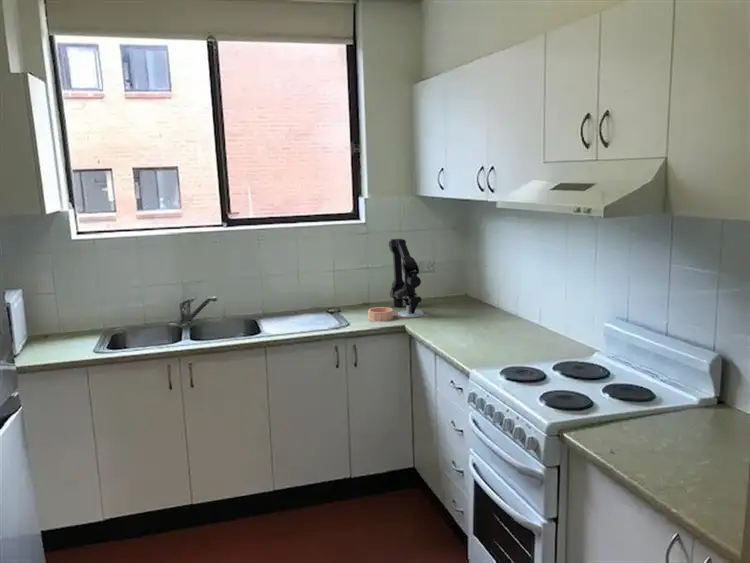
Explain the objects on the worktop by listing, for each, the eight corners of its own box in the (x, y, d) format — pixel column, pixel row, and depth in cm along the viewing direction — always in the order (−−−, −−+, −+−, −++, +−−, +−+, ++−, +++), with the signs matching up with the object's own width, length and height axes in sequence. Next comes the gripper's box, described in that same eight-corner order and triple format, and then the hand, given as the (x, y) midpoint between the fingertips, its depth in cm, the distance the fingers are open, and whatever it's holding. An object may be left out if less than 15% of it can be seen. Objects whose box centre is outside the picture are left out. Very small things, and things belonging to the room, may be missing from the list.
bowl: (365, 317, 340) (365, 308, 339) (388, 315, 344) (388, 306, 343) (372, 322, 328) (372, 313, 327) (396, 320, 332) (396, 311, 331)
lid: (394, 313, 345) (393, 304, 344) (417, 310, 349) (417, 302, 348) (403, 319, 332) (402, 309, 331) (427, 316, 336) (427, 307, 335)
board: (392, 314, 346) (392, 313, 346) (419, 311, 351) (419, 310, 351) (401, 320, 331) (401, 319, 331) (429, 317, 336) (429, 316, 335)
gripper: (390, 282, 344) (391, 310, 347) (401, 288, 327) (402, 317, 329) (409, 280, 347) (409, 308, 350) (421, 286, 330) (422, 315, 333)
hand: (410, 312), depth 340 cm, fingers open, 6 cm apart
